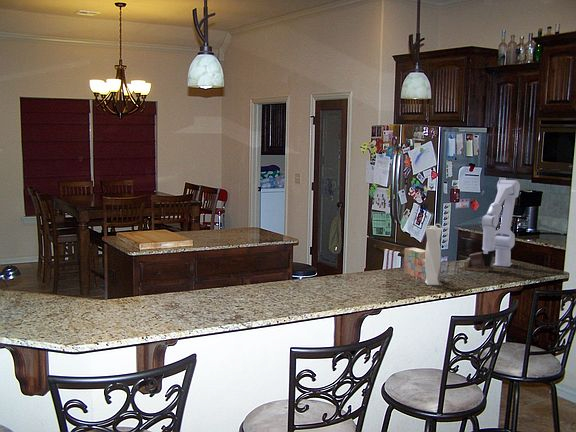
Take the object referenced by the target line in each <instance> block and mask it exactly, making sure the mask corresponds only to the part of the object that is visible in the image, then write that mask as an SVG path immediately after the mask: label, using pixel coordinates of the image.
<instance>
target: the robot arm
mask: <svg viewBox="0 0 576 432" xmlns="http://www.w3.org/2000/svg"><path fill="white" fill-rule="evenodd" d="M496 189H497V193H496V196H495V199H494V202H493V203H492V202H491V204H490V205H489V207H488V210H487V212H486V214H485V215H483V216H482V218H481V226H482V230H483V232H482V233H483V234H482V247H481V249H482V251H481V252H482V255H483V257H484V262H485V266H488V267H490V265H493V266H495V267H496V266H498V267H509V268H510V267H511V265H513V262H511V253H512V252H511V250H512V249H513V248H514V246H515V245H516V244H515V243H516V241H515V238H516V237H515V235H516V234H515V233H514V232H513V231H512V230H511V228H512V227H511V226H512V221H513V215H514V208H515V202H516V199H517V198H519V195H520V189H521V185H520V182H519V181H518V180H516V179H515V180H514V179H512V180H511V179H499V180H498V181H497V184H496ZM503 203H504V204H503ZM502 204H503V206H502ZM501 211H502V215H501V216H502V217H501V221H500V225H499V220H500V219H499V218H500V217H499V216H500V214H501ZM498 225H499V226H500V227H499V229H497V230H496V228H497V226H498ZM494 256H495V259H494V261H495V262H494V263H493V264H492V261H493V258H494Z"/></svg>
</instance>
